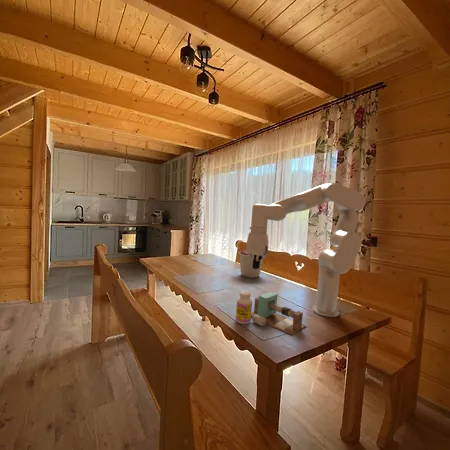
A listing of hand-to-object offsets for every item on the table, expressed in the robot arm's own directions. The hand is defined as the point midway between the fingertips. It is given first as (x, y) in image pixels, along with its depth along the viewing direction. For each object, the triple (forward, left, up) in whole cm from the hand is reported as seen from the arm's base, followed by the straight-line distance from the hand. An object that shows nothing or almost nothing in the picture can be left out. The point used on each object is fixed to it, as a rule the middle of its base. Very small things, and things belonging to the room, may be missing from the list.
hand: (255, 268), depth 123 cm
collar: (0, +8, -20) cm, 21 cm away
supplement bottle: (+12, +4, -21) cm, 25 cm away
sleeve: (+9, +10, -21) cm, 25 cm away
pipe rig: (0, +13, -21) cm, 25 cm away
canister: (-46, -40, -21) cm, 64 cm away
